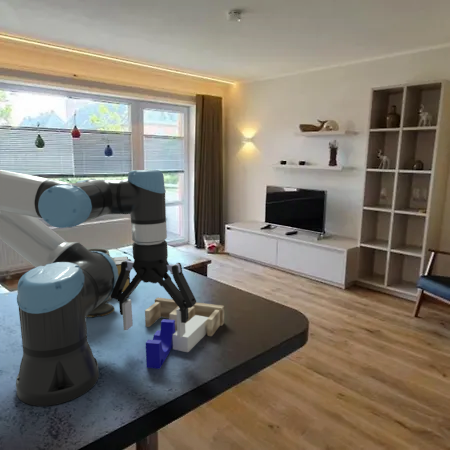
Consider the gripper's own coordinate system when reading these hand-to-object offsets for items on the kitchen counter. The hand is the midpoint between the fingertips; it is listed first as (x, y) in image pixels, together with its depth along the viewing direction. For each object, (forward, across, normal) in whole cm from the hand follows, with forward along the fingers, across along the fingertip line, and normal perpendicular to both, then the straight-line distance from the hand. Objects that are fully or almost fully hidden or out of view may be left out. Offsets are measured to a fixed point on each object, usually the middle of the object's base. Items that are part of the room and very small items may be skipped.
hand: (154, 331), depth 86 cm
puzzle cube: (+5, +34, -35) cm, 49 cm away
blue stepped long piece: (+6, -1, 0) cm, 6 cm away
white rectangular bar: (+6, -6, -9) cm, 12 cm away
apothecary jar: (+5, +28, -17) cm, 33 cm away
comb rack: (+5, 0, -16) cm, 17 cm away
